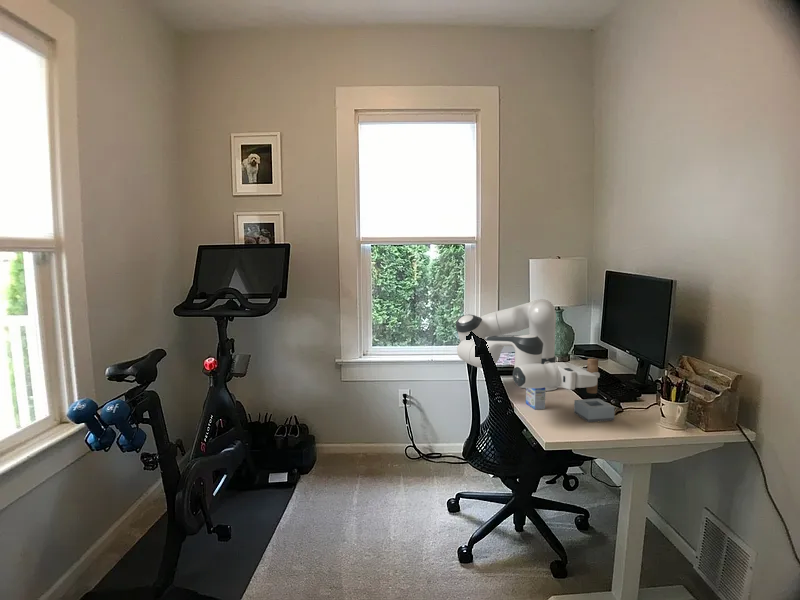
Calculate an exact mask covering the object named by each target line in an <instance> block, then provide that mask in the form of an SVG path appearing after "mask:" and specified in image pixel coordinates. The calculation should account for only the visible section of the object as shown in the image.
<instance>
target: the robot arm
mask: <svg viewBox="0 0 800 600" xmlns="http://www.w3.org/2000/svg"><path fill="white" fill-rule="evenodd" d="M556 321H557V312H556V308H555V306H554V304H553V303H552V302H551V301H550V300H548V299H543V298H542V299H537V300H533V301H530V302H526V303H522V304H519V305H515V306H512V307H509V308H505V309H500V310H496V311H493V312H489V313H486V314H484V315H481V316H477V315H475V314H465V315H462V316H460V317H459V318H458V319H457V320H456V322H455V328H456V331H457V336H458V339H459V341H460V342H459V343H458V345H457V349H456V352H457V353H456V354H457V356H458V357H459V358H460V360H462V361H463V362H465V363H467V364H469V365H470V366H474V367H475V368H479V369H483V368H482V365H481V360H480V357H475V343H474V341H473V339H470V340H466V336H468V335H469V334H470V332H471V331H472V332H473V333H474V334H475V335H476V336H478V337H479V338H482V339H484V340H485V341H486V342H487V344H486V346H487V345H488V346H487V348H488V347H489V348H488V351H489V353H491V356H492V358H493V361H494V363H495V365H496V364H497V363H498V361H499V360H500V358H501V354H502V353H501V352H502V351H503V349H504V347H513V348H514V368H513V370H512V379H513V382H514V384H515V385H516V386H517V387H519V388H521V389H526V388H545V392H546V391H547V392H548V391H554V390H558V389H560V388H563V389H566V390H570V391H572V390H573V391H574V390H575V389H578V388H579V389H581V388H584V389H585V388H587V387H593V386H596V385H597V386H598V383H597V378H598V379H599V378H600V376H601V374H600V373H601V372H599V371H598V372H593V373H590V372H588V371H587V368H585V367H579V366H577V365H575V364H573V363H570V362H563V361H559V362H557V358H556V355H555V351H556V349H555V348H556V346H555V345H556V327H557V326H556ZM525 329H528V333H529V334H522V335H521V334H520V335H515V334H514V335H510V334H512V333H517V332H520V331H523V330H525Z"/></svg>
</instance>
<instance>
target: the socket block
mask: <svg viewBox="0 0 800 600" xmlns="http://www.w3.org/2000/svg"><path fill="white" fill-rule="evenodd" d="M573 401H574V404H573V405H574V406H573V407H574V408H573V410H574V411H573V414H574V415H577V417H580V418H581V419H583V420H584V421H585V422H587V423H593V422H594V423H595V422H596V423H598V421H599V422H611V421H612V420H614V421H615V406H614V405H611V404H610V403H608V402H607V401H605V400H602V399H601V398H587V399H585V398H584V399H574V400H573Z"/></svg>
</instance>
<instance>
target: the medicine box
mask: <svg viewBox="0 0 800 600" xmlns="http://www.w3.org/2000/svg"><path fill="white" fill-rule="evenodd" d="M525 404H526V405H527V406H528V407H530V408H532V409H533V410H535V411H536V410H538V411H539V410H545V409H546V391H545V388H525Z"/></svg>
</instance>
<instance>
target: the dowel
mask: <svg viewBox="0 0 800 600" xmlns="http://www.w3.org/2000/svg"><path fill="white" fill-rule="evenodd" d="M586 369H587V371H588V372H590V373H593V372H598V373H599V359H597V358H587V368H586ZM598 379H599V378H597V385H596V386H593V387H586V392H587V393H588V394H598V383H599V382H598Z"/></svg>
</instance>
